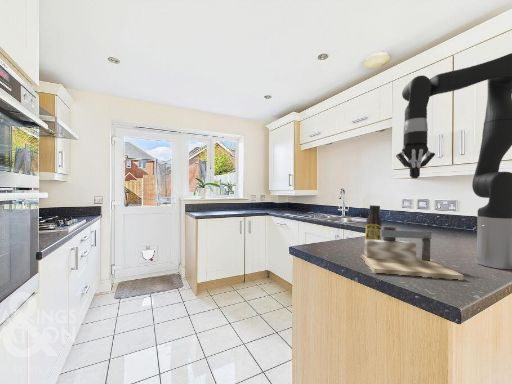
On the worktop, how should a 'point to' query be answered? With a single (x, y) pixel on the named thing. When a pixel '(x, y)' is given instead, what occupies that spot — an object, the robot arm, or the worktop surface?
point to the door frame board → (412, 268)
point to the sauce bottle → (373, 224)
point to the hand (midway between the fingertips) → (414, 178)
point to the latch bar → (406, 234)
